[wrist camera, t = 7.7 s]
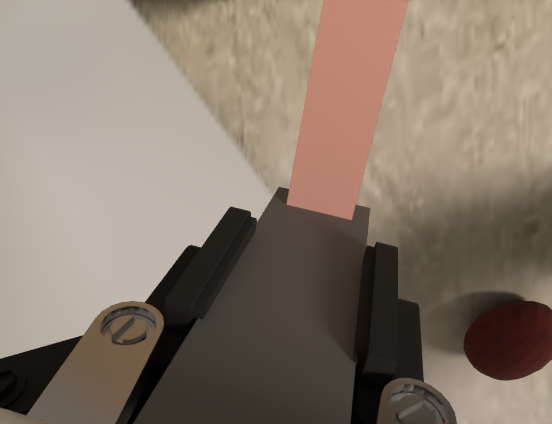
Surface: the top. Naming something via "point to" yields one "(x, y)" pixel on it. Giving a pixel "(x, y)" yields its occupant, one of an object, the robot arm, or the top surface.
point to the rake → (297, 255)
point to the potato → (510, 340)
